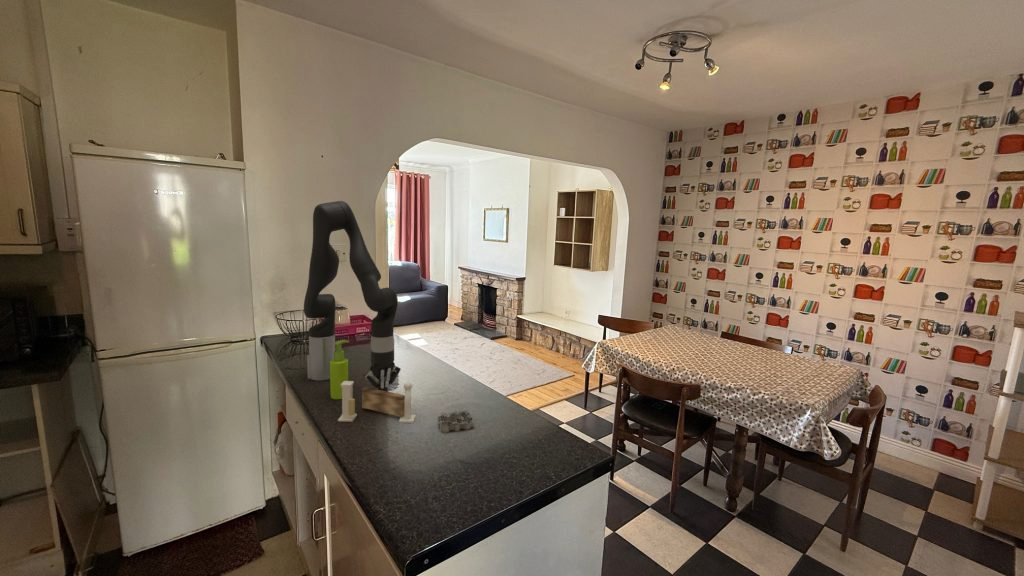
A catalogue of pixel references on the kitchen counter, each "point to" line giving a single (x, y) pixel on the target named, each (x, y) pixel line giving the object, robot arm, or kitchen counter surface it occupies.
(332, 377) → the soap dispenser
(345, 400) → the post
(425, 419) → the kitchen counter surface
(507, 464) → the kitchen counter surface
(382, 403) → the gate
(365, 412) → the kitchen counter surface
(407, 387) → the hinge post
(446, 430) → the egg carton
